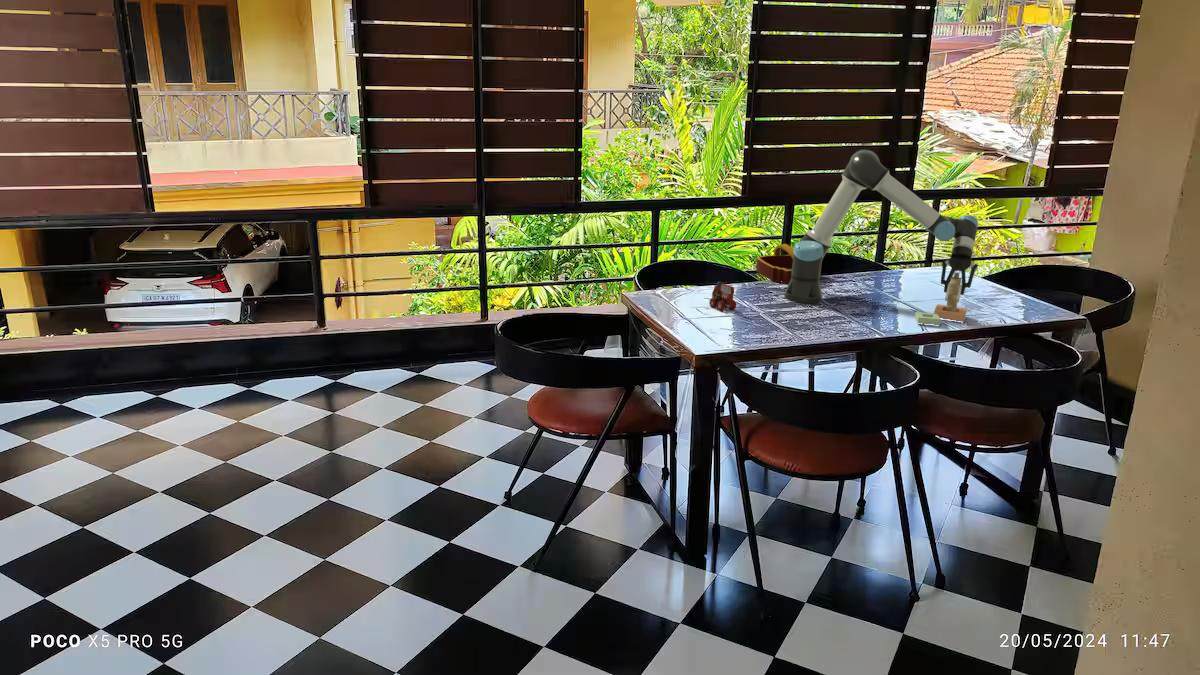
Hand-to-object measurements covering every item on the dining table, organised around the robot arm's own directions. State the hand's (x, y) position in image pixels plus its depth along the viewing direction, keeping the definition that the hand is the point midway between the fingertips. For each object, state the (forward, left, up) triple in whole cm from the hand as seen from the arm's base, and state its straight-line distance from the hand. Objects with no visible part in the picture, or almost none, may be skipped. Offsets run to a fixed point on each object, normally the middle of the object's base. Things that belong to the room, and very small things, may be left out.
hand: (952, 299), depth 326 cm
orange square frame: (0, +4, -8) cm, 9 cm away
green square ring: (-7, -9, -8) cm, 14 cm away
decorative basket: (-74, +38, -9) cm, 84 cm away
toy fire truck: (-81, -34, -9) cm, 88 cm away
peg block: (0, +4, -5) cm, 6 cm away
